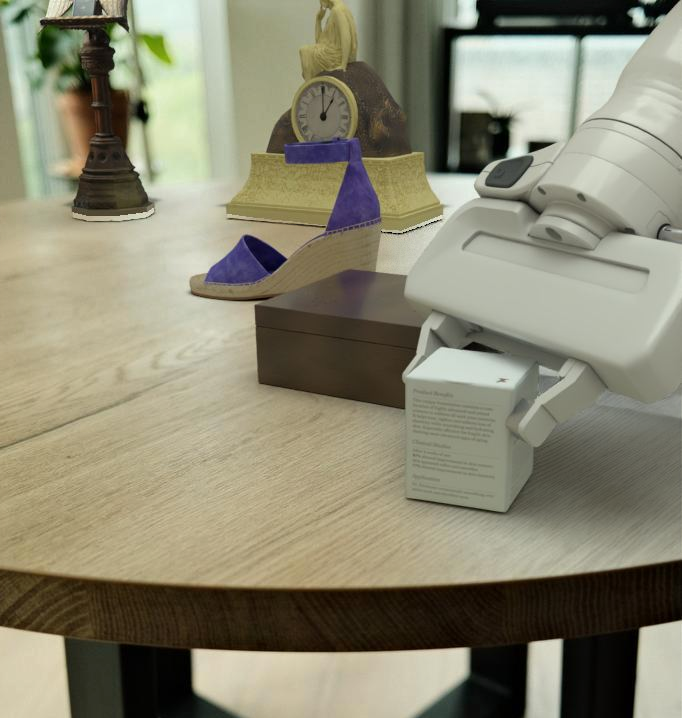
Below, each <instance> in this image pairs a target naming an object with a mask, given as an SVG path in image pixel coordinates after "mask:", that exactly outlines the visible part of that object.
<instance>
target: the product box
mask: <svg viewBox="0 0 682 718" xmlns="http://www.w3.org/2000/svg"><path fill="white" fill-rule="evenodd" d="M539 377H540V365H538V363H537V360H536V359H533V358H530V357H525V356H515V355H510V354H506V353H505V354H504V353H495V352H486V351H485V352H484V351H478V350H477V351H476V350H468V349H461V350H460V349H452V348H445V347H441V348H439V349H438V350H436V351H435V352H434V353H433V354H432V355H431V356H429V357H428V358H427V359H426V360H425V361H424V362H423V363H421V364H420V365H419V366H418V367H417V368H415V369H414V370H413V371H412V372H411V373H410V374H408V375H407V376H406V377H405V408H404V487H405V488H404V489H405V490H404V493H405V495H404V496H405V498H406V499H415V500H422V501H427V502H435V503H441V504H446V505H447V504H448V505H454V506H461V507H466V508H473V509H481V510H488V511H493V512H499V513H506V512H507V511H508V510H509V509H510V506H511V505H512V504H513V502H514V501H515V499H516V498H517V496H518V495H519V493H520V492H521V490H522V489H523V487H524V486H525V485H526V483H527V481H528V480H529V479H530V478H531V475H532V474H533V465H534V452H535V451H534V448H535V447H534V446H532V445H529V444H528V443H525V442H523V441H521V440H519V439H517V438H515V436H514V435H513V433H511V432H510V431H509V430H508V429H507V428H506V420H507V418H508V417H509V415H510V414H511V413H513V412H515V407H516V406H517V404H518V403H519V402H520V400H521V399H522V398H526V399H528V400H531V401H534V400H535V399H536V398H538V391H539Z"/></svg>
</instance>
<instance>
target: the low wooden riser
mask: <svg viewBox="0 0 682 718" xmlns="http://www.w3.org/2000/svg"><path fill="white" fill-rule="evenodd" d="M407 276H408V274H398V273H390V272H380V271H375V272H372V271H363V270H354V269H348V270H345V271H343V272H340V273H337V274H335V275H332V276H329V277H327V278H324V279H321V280H319V281H316V282H313V283H311V284H308V285H306V286H303V287H300V288H298V289H295V290H292V291H290V292H287V293H284V294H282V295H279V296H274V297H270V298H268V299H266V300H263V301H260V302H258V303H255V304H253V305H254V307H253V309H254V324H255V346H256V348H255V349H256V367H257V382H258V383H259V384H265V385H270V386H276V387H281V388H286V389H293V390H297V391H298V390H299V391H304V392H308V393H309V392H310V393H313V394H314V393H315V394H320V395H326V396H333V397H337V398H343V399H349V400H354V401H359V402H365V403H366V402H367V403H372V404H377V405H383V406H388V407H394V408H400V409H405V383H404V382H403V380H402V375H403V372H404V371H405V369H406V368H407V367H408V365H409V364H410V363H411V361H412V360H413V359H414V357H415V356H416V355H417V354H416V351H417V347H418V342H419V338H420V333H421V328H422V325H423V324H424V323H425V320H424V319H423V318H422V317H421V316H420V315H419V314H418V313H417V312H416V311H415V309H414V308H413V307H412V306H411V305H410V304H409V303H408V301H407V300H406V299H405V297H404V289H405V283H406V278H407ZM473 342H474V341H471V340H469V339H466V338H464V339H463V341H462V342H461V343H460V344H459V346H458V347H457V348H456V349H460V350H463V349H464V348H465V347H467V346H469V345H470V344H472V343H473Z"/></svg>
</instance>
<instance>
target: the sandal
mask: <svg viewBox="0 0 682 718" xmlns="http://www.w3.org/2000/svg"><path fill="white" fill-rule="evenodd" d="M325 141H327V142H325ZM284 153H285V163H286V164H335V163H336V162H348V165H347V168H346V171H345V175H344V178H343V181H342V184H341V187H340V190H339V193H338V195H337V198H336V201H335V204H334V207H333V210H332V213H331V216H330V219H329V221H328V224H327V227H325V230H324V231H323V233H322V234H318V235H317V236H315V237H313V238H312V239H310V240H308V241H307V242H305V244H303V245H302V246H300V247H299V248H298V249H296V250H295V251H294V252H293V253H292V254H291V255H290V256H289V257H286V256H284V255H283V254H282V253H281V252H280V251H278V250H277V249H276V248H274V247H273V246H272V245H270V244H269V243H267V242H266V241H264V240H262V239H260V238H258V237H256V236H254V235H251V234H248V233H246V234H242V236H241V237H240V239H239V240H238V242H237V243H236V245H235V246H234V247H233V248H232V249H231V250H230V251H229V252H228V253H227V254H225V255H224V256H223V257H222V258H221V259H220V260H219V261H218V262H216V263H214V264H213V265H212V266H211V267H210V268H209V270H208V271H207V272H204V273H199V274H195V275H192V276H191V277H190V278H189V281H188V282H189V283H188V284H189V288H190V293H192V295H195V296H199V297H205V298H209V299H216V300H217V299H218V300H231V301H240V300H241V301H243V300H245V301H246V300H255V299H262V298H274V297H276V296H279V295H282V294H284V293H287V292H290V291H292V290H295V289H298V288H300V287H303V286H306V285H308V284H311V283H313V282H316V281H319V280H321V279H324V278H327V277H329V276H332V275H335V274H337V273H340V272H343V271H345V270H348V269H354V270H363V271H372V272H377V271H376V270H377V262H378V256H379V250H380V242H381V235H382V232H381V230H382V219H381V216H380V204H379V200H378V196H377V194H376V192H375V190H374V188H373V186H372V184H371V182H370V179H369V177H368V174H367V172H366V169H365V167H364V164H363V162H362V152H361V146H360V142H359V140H358V138H353V139H343V140H341V139H340V137H331V138H313V139H312V140H311V142H300V143H290V144H285V145H284Z"/></svg>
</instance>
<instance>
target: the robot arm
mask: <svg viewBox="0 0 682 718" xmlns="http://www.w3.org/2000/svg"><path fill="white" fill-rule="evenodd" d="M473 188H474V190H475V191H476V193H477V195H478V196H479V197H477V198H473V199H471V200H468V201H467V202H465V203H463V204H462V205H461V206H460V207H459V208H458V209H456V210H455V211H454V212H453V213H452V215H450V217H448V219H447V220H446V221H445V222H444V224H443V225H442V226H441V228H440V229H439V230H438V231H437V232H436V234H434V235H435V236H434V237H433V238H432V239H431V240H430V242H429V243H428V245H426V247H425V248H424V250H423V251H422V253H421V254H420V256H419V257H418V258H417V260H416V262H415V263H414V264H413V266H412V267H411V268H410V270H409V272H408V274H407V275H408V276H407V278H406V283H405V289H404V297H405V299H406V300H407V301H408V303H409V304H410V305H411V306H412V307H413V308H414V309H415V311H416V312H417V313H418V314H419V315H420V316H421V317H422V318H423V319H424V320H425V323H424V324H423V325H422V328H421V333H420V338H419V342H418V347H417V351H416V354H417V355H416V356H415V357H414V359H413V360H412V361H411V363H410V364H409V365H408V367H407V368H406V369H405V371H404V372H403V375H402V380H403V382H404V383H405V377H406V376H407V375H408V374H410V373H411V372H412V371H413V370H414V369H415V368H417V367H418V366H419V365H420V364H421V363H423V362H424V361H425V360H426V359H427V358H428V357H429V356H431V355H432V354H433V353H434V352H435V351H436V350H438V349H439V348H441V347H445V348H452V349H456V348H457V347H458V346H459V344H460V343H461V342H462V341H463V339H464V338H466V339H469V340H471V341H473V342H475V343H477V344H480V345H483V346H485V347H488V348H490V349H494V350H497V351H499V352H502V353H503V354H504V353H505V354H506V355H515V356H525V357H530V358H533V359H536V360H537V363H538V365H539V367H542V368H545V369H548V370H551V371H554V372H556V373H557V377H558V378H560V380H559V381H558V382H557V383H556V384H554V385H553V386H551V387H550V388H548V389H547V390H546V391H545V392H543V393H541V394H540V395H539V396H537V398H536V399H535V400H534V401H531V400H528V399H526V398H522V399H521V400H520V402H519V403H518V404H517V406H516V407H515V412H513V413H511V414H510V415H509V417H508V418H507V420H506V428H507V429H508V430H509V431H510V432H511V433H513V435H514V436H515V438H517V439H519V440H521V441H523V442H525V443H528V444H529V445H532V446H534V448H538V447H541V446H542V445H543V443H544V442H545V441H546V440H547V438H548V437H549V435H551V434H552V431H553V430H554V429H555V427H557V425H560V424H562V423H563V422H566V421H567V420H569V419H570V418H572V417H575V416H576V415H578V414H580V413H582V412H583V411H585V410H587V409H588V408H591V407H593V406H594V405H595V403H596V402H597V401H598V399H599V398H600V397H601V395H602V394H603V393H604V391H605V390H606V391H609V392H611V393H614V394H617V395H619V396H623V397H625V398H628V399H631V400H632V401H636V402H639V403H642V404H644V405H653V404H655V403H657V402H660V401H662V400H664V399H666V398H667V397H669V396H671V395H673V394H674V393H676V391H677V390H678V388H679V387H680V386H681V384H682V0H679V1H678V2H677V3H676V4H675V5H674V6H673V8H671V10H670V11H669V12H668V13H667V14H666V15H665V16H664V18H662V20H661V21H660V22H659V23H658V24H657V26H656V27H655V28H654V29H653V30H652V31H651V33H650V34H649V35H648V37H646V39H645V40H644V41H643V42H642V44H641V45H640V46H639V48H638V49H636V51H635V53H634V54H633V56H632V57H631V58H630V59H629V61H628V62H627V63H626V65H625V66H624V67H623V69H622V71H621V73H620V75H619V76H618V80H617V82H616V85H615V88H614V91H613V92H612V94H611V95H610V97H609V99H608V100H607V101H606V102H605V103H604V104H603V105H602V106H601V107H600V108H599V109H597V110H596V111H595V112H593V113H592V114H590V115H589V116H588V117H587V118H585V120H584V121H583V122H582V123H581V124H580V125H579V126H578V128H577V129H576V130H575V132H574V133H573V134H572V136H571V138H570V139H569V140H568V141H566V140H562V141H558V142H555V143H553V144H551V145H549V146H545V147H544V148H541V149H537V150H535V151H532V152H529V153H525V154H520V155H517V156H511V157H508V158H502V159H498V160H494V161H492V162H490V163H488V164H487V165H486V166H485V167H484V168H483V169H482V171H480V173H479V175H478V176H477V177H476V179H475V181H474V183H473Z"/></svg>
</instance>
